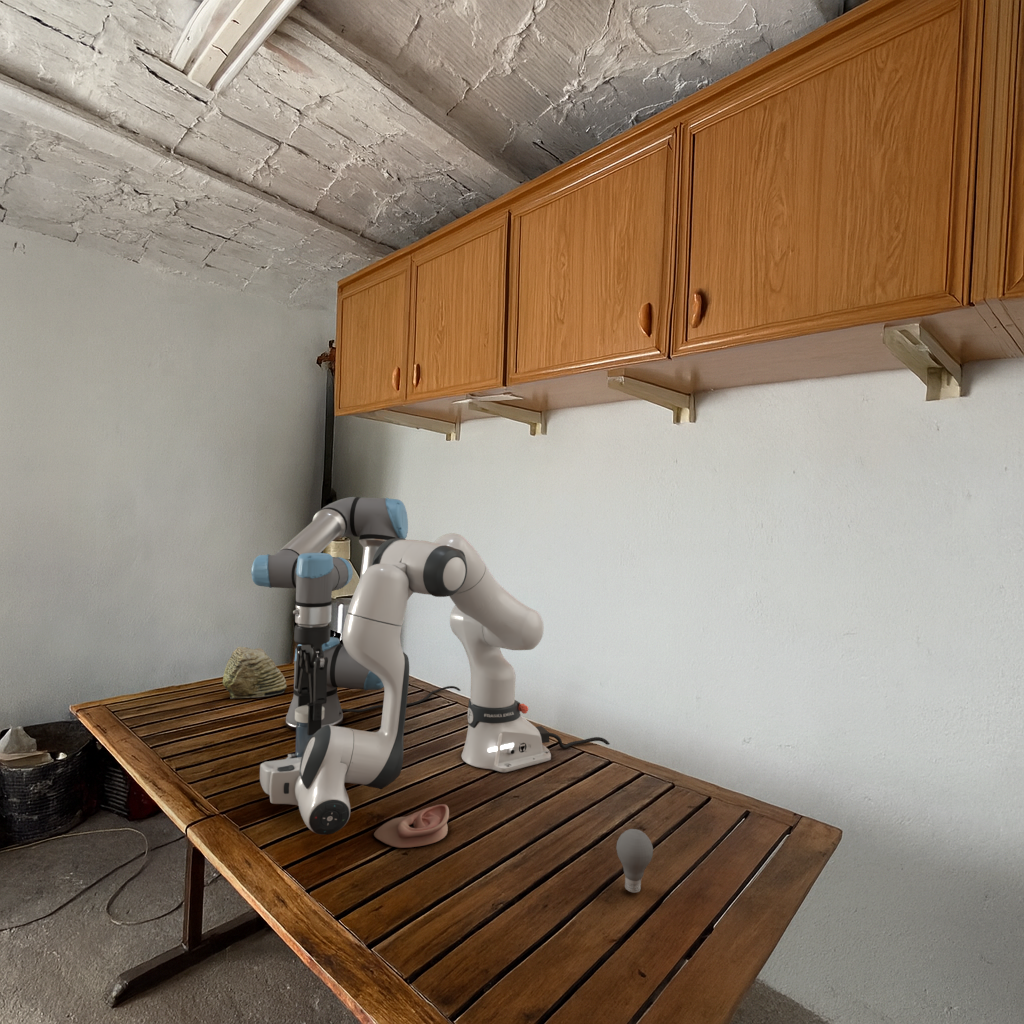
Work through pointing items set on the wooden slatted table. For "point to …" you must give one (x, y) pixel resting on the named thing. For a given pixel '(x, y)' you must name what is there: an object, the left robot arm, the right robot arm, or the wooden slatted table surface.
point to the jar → (301, 738)
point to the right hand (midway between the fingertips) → (306, 755)
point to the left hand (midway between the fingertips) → (308, 728)
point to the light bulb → (634, 857)
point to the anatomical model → (416, 828)
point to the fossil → (252, 674)
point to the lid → (304, 714)
